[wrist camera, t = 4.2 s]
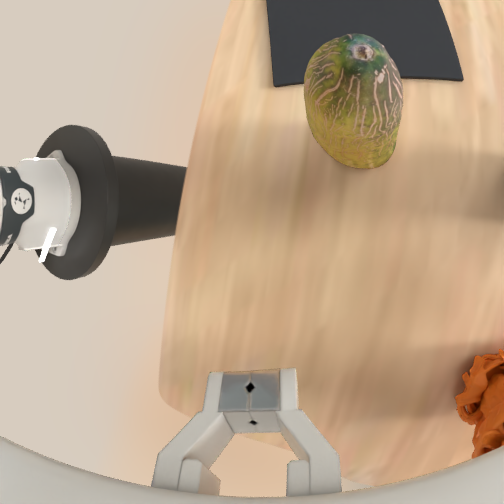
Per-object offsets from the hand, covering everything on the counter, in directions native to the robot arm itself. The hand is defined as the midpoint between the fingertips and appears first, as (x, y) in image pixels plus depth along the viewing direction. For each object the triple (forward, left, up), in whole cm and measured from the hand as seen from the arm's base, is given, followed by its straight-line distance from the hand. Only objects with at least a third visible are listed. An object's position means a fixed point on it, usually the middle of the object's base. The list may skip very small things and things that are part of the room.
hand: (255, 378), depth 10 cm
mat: (+5, +27, -21) cm, 35 cm away
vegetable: (+3, +12, -22) cm, 25 cm away
